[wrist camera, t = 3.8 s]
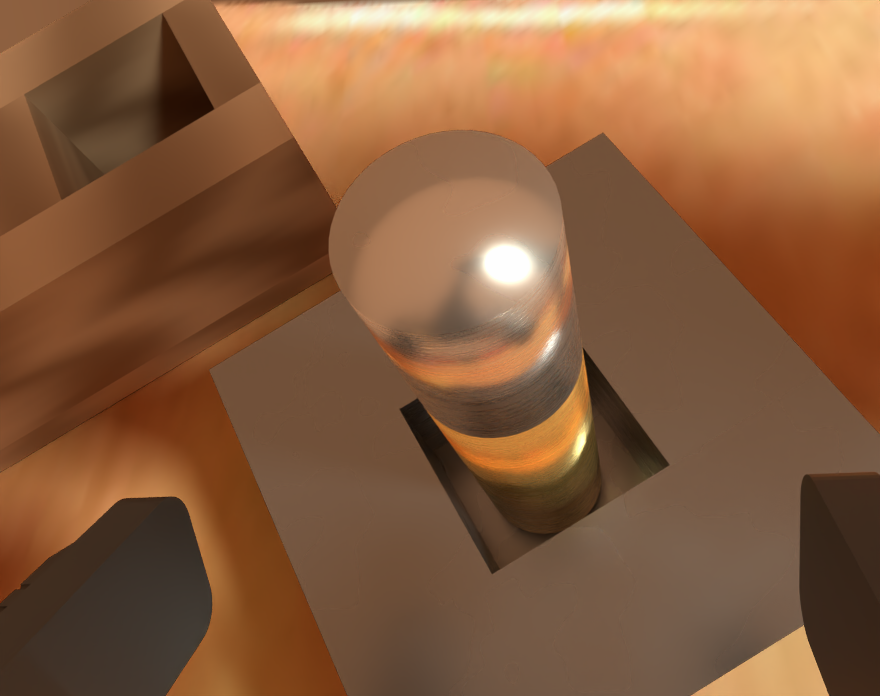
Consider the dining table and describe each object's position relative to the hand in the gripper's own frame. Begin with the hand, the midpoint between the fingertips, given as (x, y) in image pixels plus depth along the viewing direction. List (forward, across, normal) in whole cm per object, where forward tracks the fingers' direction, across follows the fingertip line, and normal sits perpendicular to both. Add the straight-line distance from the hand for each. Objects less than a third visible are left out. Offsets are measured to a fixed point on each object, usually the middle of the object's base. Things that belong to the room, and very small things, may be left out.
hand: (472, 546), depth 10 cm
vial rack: (+15, +18, 0) cm, 24 cm away
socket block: (+10, 0, +5) cm, 12 cm away
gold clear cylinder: (+10, 0, +4) cm, 11 cm away
